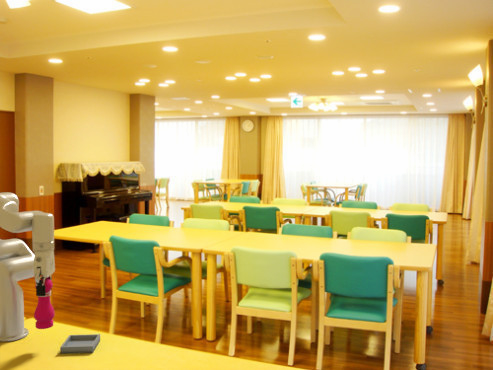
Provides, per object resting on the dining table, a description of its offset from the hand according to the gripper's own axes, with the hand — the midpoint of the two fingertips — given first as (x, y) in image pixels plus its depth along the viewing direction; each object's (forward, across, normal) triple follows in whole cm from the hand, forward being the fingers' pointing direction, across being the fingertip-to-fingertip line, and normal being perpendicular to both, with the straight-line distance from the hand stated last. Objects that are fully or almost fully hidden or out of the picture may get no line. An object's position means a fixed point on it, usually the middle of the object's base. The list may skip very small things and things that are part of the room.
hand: (44, 292), depth 179 cm
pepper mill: (+13, 0, 0) cm, 13 cm away
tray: (+21, 0, -14) cm, 25 cm away
